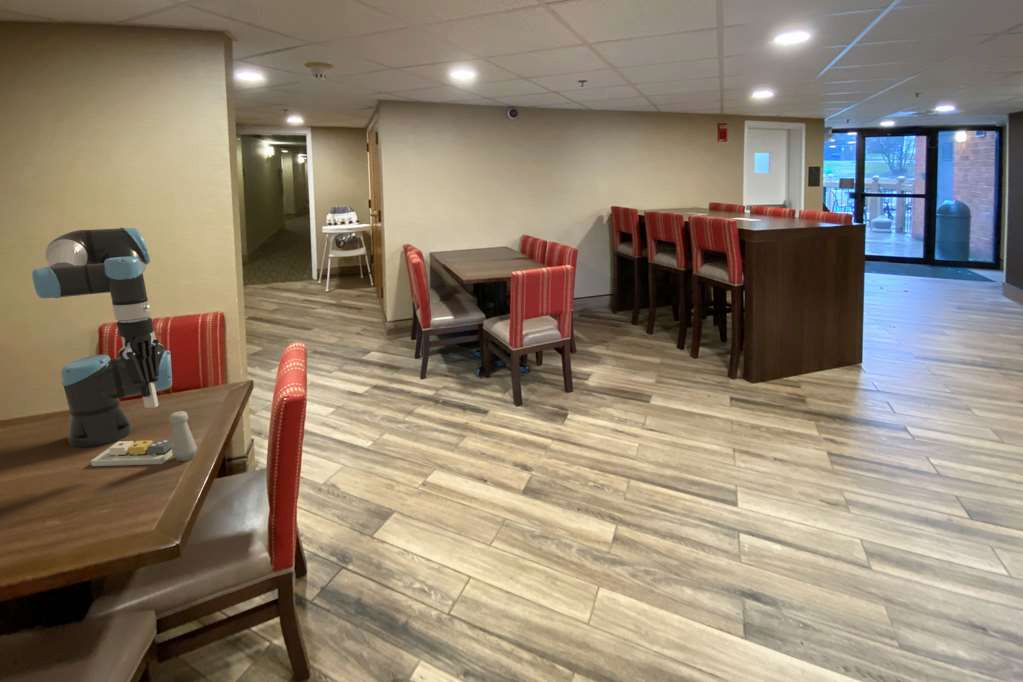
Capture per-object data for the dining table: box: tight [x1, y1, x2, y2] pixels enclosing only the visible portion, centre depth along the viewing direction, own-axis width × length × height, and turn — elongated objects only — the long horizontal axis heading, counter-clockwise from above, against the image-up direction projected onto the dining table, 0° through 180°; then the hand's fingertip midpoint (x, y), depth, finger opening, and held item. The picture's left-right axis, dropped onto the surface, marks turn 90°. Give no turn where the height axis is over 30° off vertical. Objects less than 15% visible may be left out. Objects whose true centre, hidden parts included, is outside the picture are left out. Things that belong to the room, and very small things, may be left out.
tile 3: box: [148, 439, 172, 455], centre depth 151 cm, size 4×4×2 cm
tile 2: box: [128, 439, 154, 455], centre depth 151 cm, size 4×4×2 cm
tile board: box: [90, 447, 174, 467], centre depth 151 cm, size 18×9×2 cm, turn 92°
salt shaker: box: [168, 410, 198, 462], centre depth 149 cm, size 6×6×13 cm
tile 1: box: [108, 440, 135, 456], centre depth 151 cm, size 4×4×2 cm
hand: (151, 406), depth 148 cm, fingers closed
